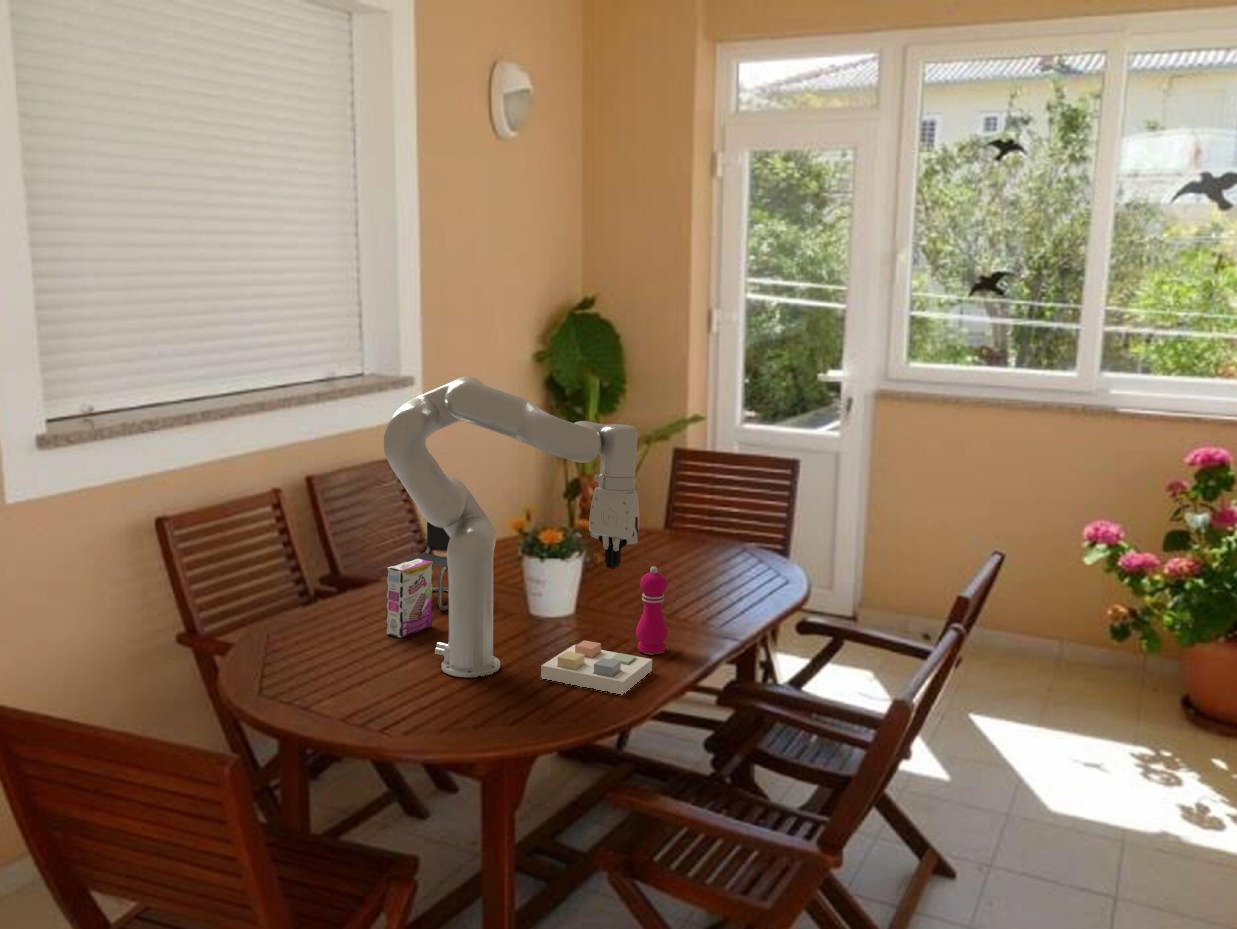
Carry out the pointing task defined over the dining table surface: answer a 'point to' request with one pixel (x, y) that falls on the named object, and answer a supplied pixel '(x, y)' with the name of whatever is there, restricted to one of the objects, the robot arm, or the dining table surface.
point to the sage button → (624, 658)
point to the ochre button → (571, 660)
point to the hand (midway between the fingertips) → (612, 567)
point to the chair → (436, 557)
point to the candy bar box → (409, 597)
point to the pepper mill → (652, 613)
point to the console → (591, 680)
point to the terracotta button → (588, 649)
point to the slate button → (607, 667)
